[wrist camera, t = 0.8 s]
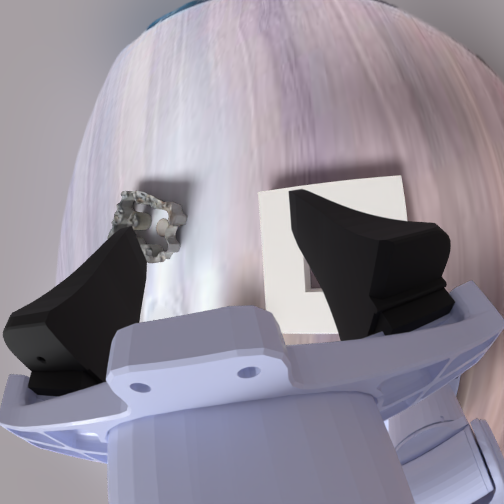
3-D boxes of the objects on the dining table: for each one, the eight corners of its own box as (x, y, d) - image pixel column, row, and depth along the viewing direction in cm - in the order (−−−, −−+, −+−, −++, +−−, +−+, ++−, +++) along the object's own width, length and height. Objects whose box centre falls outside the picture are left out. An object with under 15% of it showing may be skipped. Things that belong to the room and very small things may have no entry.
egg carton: (194, 207, 31) (172, 202, 28) (177, 267, 32) (153, 269, 29) (137, 188, 35) (115, 183, 31) (124, 239, 36) (102, 239, 33)
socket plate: (406, 322, 22) (410, 330, 20) (275, 326, 27) (267, 332, 25) (398, 182, 22) (400, 175, 20) (267, 196, 27) (257, 192, 25)
